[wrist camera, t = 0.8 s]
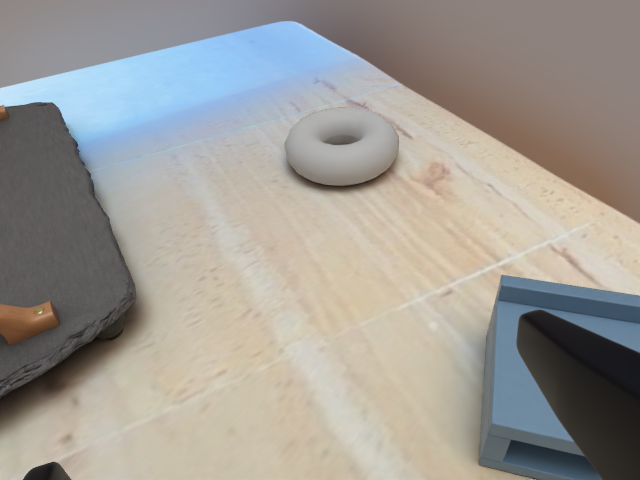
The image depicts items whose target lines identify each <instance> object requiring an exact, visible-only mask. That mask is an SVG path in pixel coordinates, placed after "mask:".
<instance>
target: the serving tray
mask: <svg viewBox="0 0 640 480" xmlns="http://www.w3.org/2000/svg"><path fill="white" fill-rule="evenodd" d="M65 125H66V124H65V122H64V119H63V117H62V114H61V112H60V110H59V108H58V107H57V106H56V105H55V104H53V103H42V102H37V103H30V104H26V105H19V106H9V107H5V106H4V105H2V106H0V398H1V397H2V396H4V395H6V394H8V393H10V392H11V391H13V390H15V389H17V388H18V387H20V386H22V385H24V384H26V383H27V382H29V381H31V380H33V379H35V378H37V377H39V376H40V375H42V374H44V373H45V372H47V371H48V370H50V369H51V368H53V367H54V366H56V365H57V364H59V363H60V362H62V361H63V360H64V359H66V358H67V357H69V356H70V355H71V354H72V353H73V352H74V351H76V350H77V349H78V348H79V347H81V346H83V345H85V344H87V343H89V342H91V341H92V340H93V339H94V338H95V337H96V336H97V337H100V338H103V339H106V340H111V339H114V338H116V337H118V336H119V335H120V334H121V333H122V331H123V327H124V323H125V317H124V312H125V311H126V310H127V309H128V308H129V307H130V306H131V305H132V304H133V303H134V301H135V298H136V292H135V284H134V282H133V279H132V277H131V274H130V272H129V270H128V268H127V266H126V264H125V261H124V258H123V256H122V254H121V252H120V249H119V246H118V244H117V241H116V239H115V237H114V235H113V233H112V229H111V225H110V222H109V217H108V216H107V214H106V213H105V212H104V211H103V209H102V208H101V206H100V204H99V203H98V201H97V199H96V198H95V193H94V185H93V181H92V179H91V174H90V173H89V171H88V170H87V169H86V168H85V167H84V163H83V161H82V160H81V159H80V157H79V150H78V149H77V147H78V144H77V142H76V141H75V139H73V137H71V135H70V134H69V133H68V128H67V127H66V126H65Z"/></svg>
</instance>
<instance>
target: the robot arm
mask: <svg viewBox="0 0 640 480" xmlns="http://www.w3.org/2000/svg"><path fill="white" fill-rule="evenodd" d="M516 345H517V350H518V352H519V354H520V356H521V358H522V360H523V361H524V363H525V365H526V366H527V368H528V370H529V371H530V373H531V375H532V377H533V378H534V380H535V382H536V383H537V385H538V387H539V388H540V390H541V392H542V393H543V395H544V397H545V399H546V400H547V402H548V404H549V405H550V407H551V409H552V410H553V412H554V414H555V415H556V417H557V418H558V420H559V421H560V423H561V424H562V426H563V427H564V428H565V430H566V431H567V433H568V434H569V435H570V437H571V438H572V439H573V441H574V442H575V443H576V445H577V446H578V447H579V449H580V450H581V451H582V453H583V454H584V456H585V457H586V458H587V460H588V461H589V462H590V464H591V465H592V466H593V468H594V469H595V470H596V472H597V473H598V474H599V476H600V477H601V479H602V480H640V353H639V352H637V351H635V350H633V349H630V348H628V347H626V346H624V345H621V344H619V343H617V342H614V341H612V340H610V339H608V338H605V337H603V336H601V335H599V334H596V333H594V332H592V331H589V330H587V329H585V328H583V327H580V326H578V325H576V324H574V323H571V322H569V321H567V320H565V319H562V318H560V317H558V316H555V315H553V314H551V313H549V312H546V311H544V310H540V309H537V310H533V311H530V312H527V313H523V314H522V315H521V316H520V317H519V320H518V330H517V340H516ZM23 480H71V479H70V477H69V476H68V475H67V473H66V472H65V471H64V469H63V468H62V467H61V465H60V464H59V463H56V462H51V463H48V464H44V465H41V466H38V467H35V468H33V469H31V470H30V471H29V472H28V473H27V475H26V476H25V477H24V479H23Z"/></svg>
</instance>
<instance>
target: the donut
mask: <svg viewBox="0 0 640 480" xmlns="http://www.w3.org/2000/svg"><path fill="white" fill-rule="evenodd" d="M338 144H346V145H338ZM398 148H399V137H398V134H397V133H396V131H395V129H394V127H393V125H392V123H390V122H389V121H388V120H386V119H385V118H384V117H382V116H381V115H380V114H377V113H375V112H372V111H370V110H366V109H360V108H353V107H339V108H331V109H325V110H321V111H318V112H315V113H312V114H310V115H308V116H306V117H304V118H302V119H301V120H300V121H299V122H298V123H297V124H296V125H295V126H294V127H292V128H291V130H290V132H289V134H288V137H287V139H286V142H285V151H286V156H287V160H288V162H289V163H290V165H291V166H292V167H293V168H294V169H295V171H296V172H297V173H298V174H300V175H301V176H303V177H305V178H307V179H309V180H311V181H313V182H317V183H321V184H325V185H335V186H346V185H353V184H360V183H362V182H365V181H368V180H371V179H374V178H375V177H377V176H378V175H380V174H381V173H383V172H384V171H386V170H387V169H388V168H389V167H390V165H391V164H392V163H393V161H394V160H395V158H396V157H397V154H398Z"/></svg>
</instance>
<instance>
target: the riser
mask: <svg viewBox="0 0 640 480" xmlns="http://www.w3.org/2000/svg"><path fill="white" fill-rule="evenodd" d="M537 309H540V310H544V311H546V312H549V313H551V314H553V315H555V316H558V317H560V318H562V319H565V320H567V321H569V322H571V323H574V324H576V325H578V326H580V327H583V328H585V329H587V330H589V331H592V332H594V333H596V334H599V335H601V336H603V337H605V338H608V339H610V340H612V341H614V342H617V343H619V344H621V345H624V346H626V347H628V348H630V349H633V350H635V351H637V352H639V353H640V296H638V295H631V294H625V293H618V292H611V291H605V290H598V289H592V288H585V287H578V286H572V285H565V284H559V283H552V282H545V281H539V280H532V279H526V278H519V277H512V276H506V275H502V276H501V280H500V284H499V288H498V292H497V296H496V300H495V304H494V308H493V312H492V316H491V320H490V324H489V329H488V332H487V338H486V354H485V369H484V385H483V400H482V416H481V431H480V447H479V462H478V463H479V465H482V466H486V467H490V468H494V469H498V470H502V471H506V472H510V473H514V474H518V475H523V476H527V477H531V478H535V479H539V480H602V479H601V477H600V476H599V474H598V473H597V472H596V470H595V469H594V468H593V466H592V465H591V464H590V462H589V461H588V460H587V458H586V457H585V456H584V454H583V453H582V451H581V450H580V449H579V447H578V446H577V445H576V443H575V442H574V441H573V439H572V438H571V437H570V435H569V434H568V433H567V431H566V430H565V428H564V427H563V426H562V424H561V423H560V421H559V420H558V418H557V417H556V415H555V414H554V412H553V410H552V409H551V407H550V405H549V404H548V402H547V400H546V399H545V397H544V395H543V393H542V392H541V390H540V388H539V387H538V385H537V383H536V382H535V380H534V378H533V377H532V375H531V373H530V371H529V370H528V368H527V366H526V365H525V363H524V361H523V360H522V358H521V356H520V354H519V352H518V350H517V345H516V340H517V330H518V320H519V317H520V316H521V315H522V314H523V313H527V312H530V311H533V310H537Z"/></svg>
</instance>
